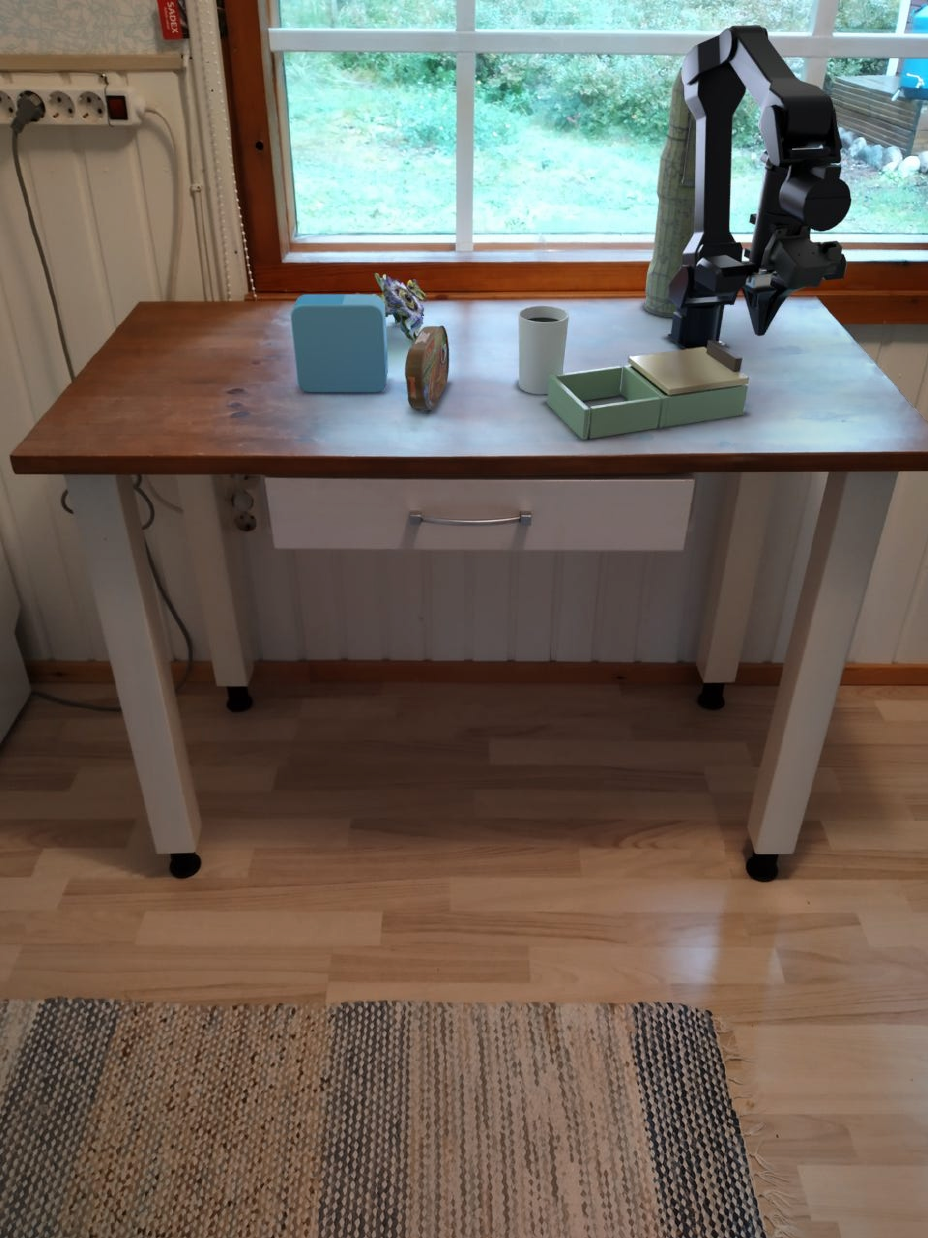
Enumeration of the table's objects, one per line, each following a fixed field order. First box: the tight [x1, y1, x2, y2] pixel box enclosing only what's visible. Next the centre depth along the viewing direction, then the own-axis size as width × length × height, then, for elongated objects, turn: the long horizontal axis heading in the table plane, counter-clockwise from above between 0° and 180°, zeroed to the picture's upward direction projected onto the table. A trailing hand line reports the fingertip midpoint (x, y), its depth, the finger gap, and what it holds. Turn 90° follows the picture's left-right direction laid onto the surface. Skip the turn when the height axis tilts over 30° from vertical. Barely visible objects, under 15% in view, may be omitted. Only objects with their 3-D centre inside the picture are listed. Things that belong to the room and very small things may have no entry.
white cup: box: [518, 305, 570, 395], centre depth 133 cm, size 7×7×10 cm
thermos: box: [644, 66, 696, 318], centre depth 151 cm, size 9×12×35 cm
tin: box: [404, 325, 450, 411], centre depth 131 cm, size 15×3×8 cm, turn 168°
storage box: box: [546, 364, 749, 441], centre depth 129 cm, size 23×11×4 cm, turn 109°
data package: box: [290, 293, 389, 393], centre depth 132 cm, size 12×4×12 cm, turn 90°
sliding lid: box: [627, 340, 750, 395], centre depth 128 cm, size 11×11×3 cm
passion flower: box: [354, 272, 428, 342], centre depth 149 cm, size 11×11×12 cm
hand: (759, 334), depth 129 cm, fingers closed
